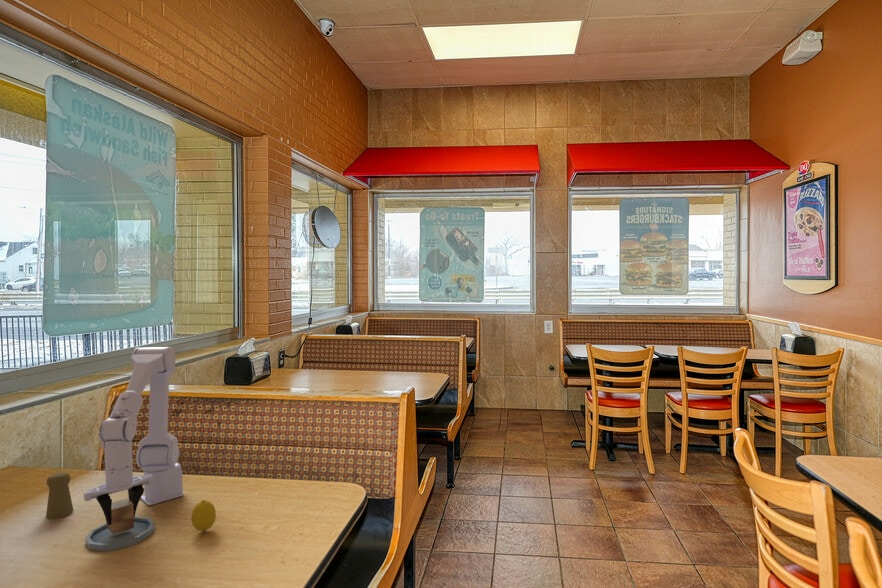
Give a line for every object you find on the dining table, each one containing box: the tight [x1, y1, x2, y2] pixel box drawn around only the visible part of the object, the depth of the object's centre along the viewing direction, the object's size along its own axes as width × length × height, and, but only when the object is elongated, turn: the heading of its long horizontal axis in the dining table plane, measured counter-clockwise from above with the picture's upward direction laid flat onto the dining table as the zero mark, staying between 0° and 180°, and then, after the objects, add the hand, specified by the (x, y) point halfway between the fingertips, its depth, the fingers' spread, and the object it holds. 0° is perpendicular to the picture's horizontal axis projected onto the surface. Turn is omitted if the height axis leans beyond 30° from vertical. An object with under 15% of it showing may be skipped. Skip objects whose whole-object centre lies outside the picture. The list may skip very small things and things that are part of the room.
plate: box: [84, 516, 155, 552], centre depth 128 cm, size 14×14×1 cm
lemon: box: [190, 499, 217, 533], centre depth 129 cm, size 6×6×8 cm
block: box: [107, 497, 134, 534], centre depth 128 cm, size 5×5×6 cm
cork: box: [45, 471, 74, 520], centre depth 140 cm, size 6×6×11 cm
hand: (120, 520), depth 128 cm, fingers closed on block, 4 cm apart
